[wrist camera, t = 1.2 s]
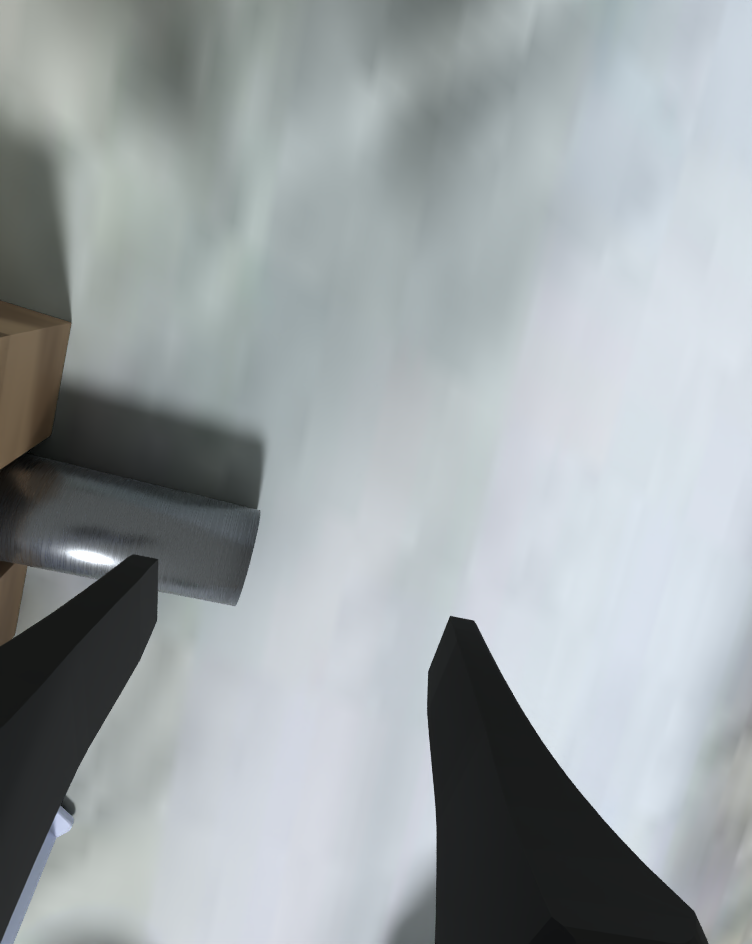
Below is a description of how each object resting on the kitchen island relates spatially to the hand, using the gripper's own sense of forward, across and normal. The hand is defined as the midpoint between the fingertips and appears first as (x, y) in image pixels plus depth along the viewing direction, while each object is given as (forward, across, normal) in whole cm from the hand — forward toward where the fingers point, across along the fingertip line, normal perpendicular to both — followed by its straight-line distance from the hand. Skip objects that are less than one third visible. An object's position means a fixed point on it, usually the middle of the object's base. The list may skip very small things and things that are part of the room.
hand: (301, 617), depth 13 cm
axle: (+7, +10, +4) cm, 12 cm away
